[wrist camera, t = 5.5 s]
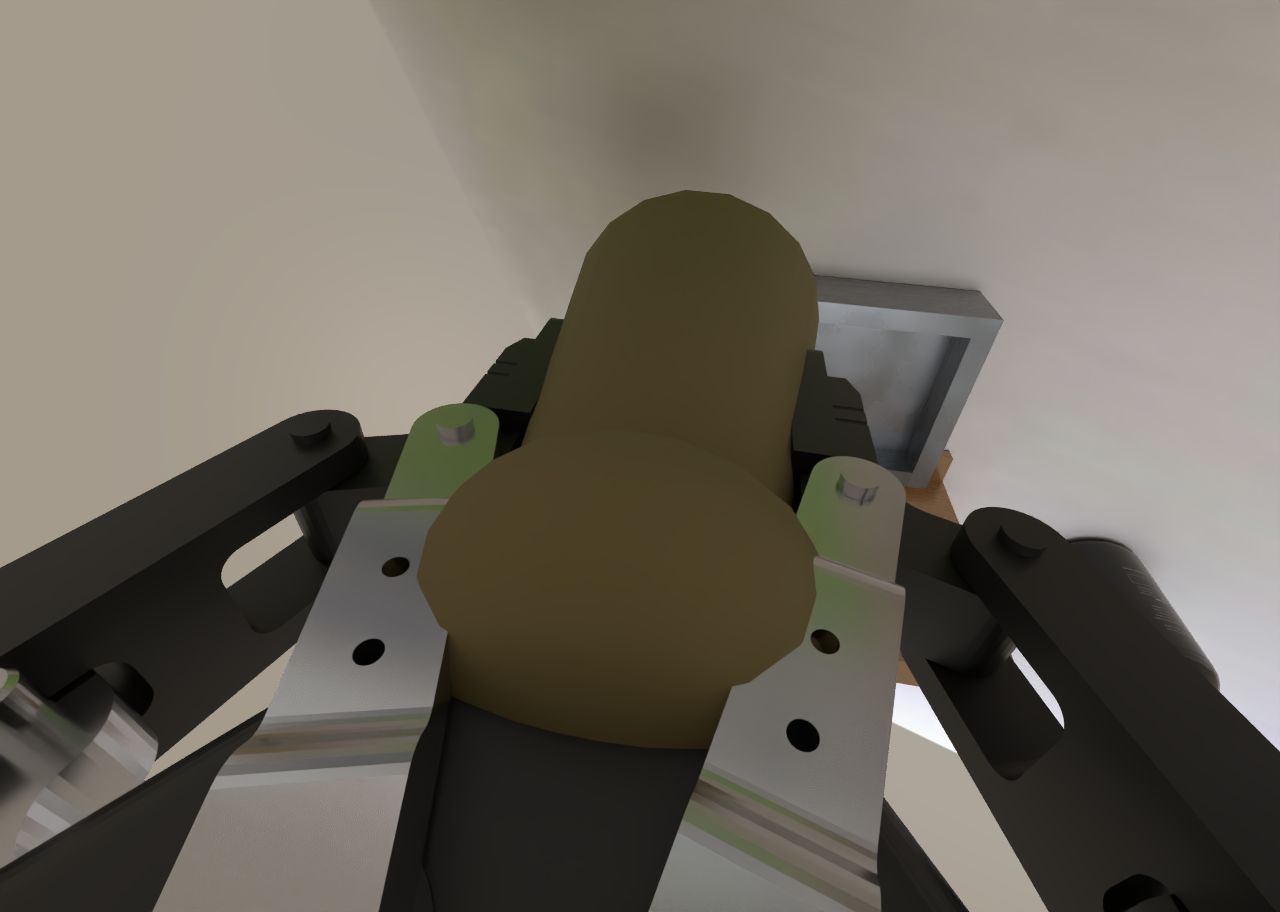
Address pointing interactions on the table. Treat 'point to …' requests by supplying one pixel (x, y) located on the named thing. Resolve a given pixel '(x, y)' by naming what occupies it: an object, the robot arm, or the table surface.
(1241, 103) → the table surface
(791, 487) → the olive mushroom knob
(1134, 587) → the supplement bottle
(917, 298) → the bracket
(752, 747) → the robot arm
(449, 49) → the table surface
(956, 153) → the table surface
